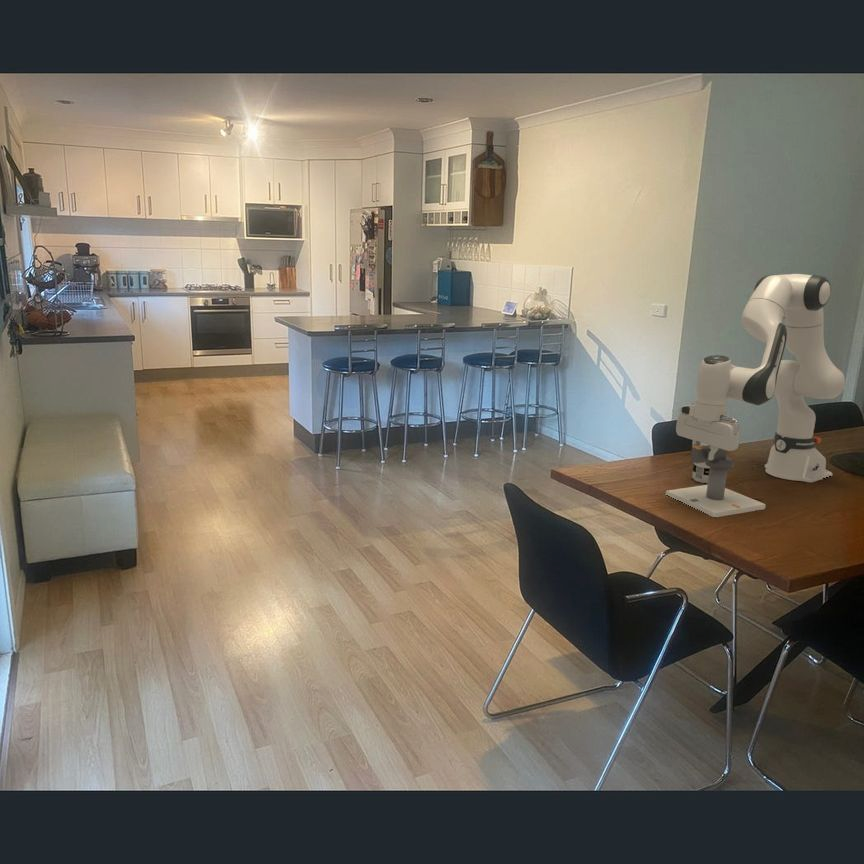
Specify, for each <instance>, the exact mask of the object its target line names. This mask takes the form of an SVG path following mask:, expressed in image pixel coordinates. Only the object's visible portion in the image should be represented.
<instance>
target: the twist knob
mask: <svg viewBox="0 0 864 864" xmlns="http://www.w3.org/2000/svg"><path fill="white" fill-rule="evenodd" d="M710 451H711V449H710V445H708V446H697V445H693V444H692V445H691V453H690V460H689V461H690V462H692V463H693V464H694V463H702V462H705V464H706V465H707V466H709V467H713V468H718V469H728V470H732V469H733V468H734V466H735V465H734V464H735V459H734V458H732V457H729V456H727V452H728V451H726V450H723V449H720V448H719V449H718V450H717V452H716V453H715V454H714V459H713V460H708V459H706V453H709V452H710Z"/></svg>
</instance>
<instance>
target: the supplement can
mask: <svg viewBox="0 0 864 864" xmlns="http://www.w3.org/2000/svg"><path fill="white" fill-rule="evenodd" d="M700 446H708V445H707V444H704V443H701V444H700ZM692 467H693V468H692V474H691V478H692V479H693V480H694V481H695V482H697V483H699V482H700V483H699V484H704V483H706V484H705V485H708V477H709V470H710V467H709V466H707V465H706V464H705V462H702V463H694V462H693V466H692Z"/></svg>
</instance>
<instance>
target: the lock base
mask: <svg viewBox="0 0 864 864" xmlns="http://www.w3.org/2000/svg"><path fill="white" fill-rule="evenodd" d="M728 470H729V469H718V468H713V467H710V470H709V477H708V484H702V485H697V486H690V487H683V488H682V487H681V488H676V489H669V490H666V491H665V496H666V495H668V496H670V497H669V498H671V497H672V498H671V499H673V498H674V499H673V500H675V499H676V501H677V500H679V501H681V502H683V503H682V504H684V503H685V504H684V505H686V504H687V505H686V506H688V505H689V507H690V506H691V507H690V508H692V507H693V508H692V509H694V508H695V509H694V510H697V509H698V510H697V511H699V510H700V511H699V512H701V511H702V512H701V513H703V512H704V513H703V514H705V513H706V515H707V514H708V515H707V516H710V517H712V518H714V517H716V518H720V517H727V516H733V515H738V514H744V513H750V512H756V510H757V511H763V510H766V506H767V505H766V504H765V503H763V502H761V501H759V500H755V499H753V498H751V497H748V496H746V495H743V494H742V493H739V492H737V491H734V490H732V489H730V488H729V489H728V488H726V485H727V484H726V483H727V477H728ZM668 496H667V497H668ZM679 501H678V502H679ZM681 502H680V503H681Z"/></svg>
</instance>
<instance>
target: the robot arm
mask: <svg viewBox="0 0 864 864" xmlns="http://www.w3.org/2000/svg"><path fill="white" fill-rule="evenodd" d="M831 293H832V287H831V282H830V281H829V279H828V278H827V277H826V276H822V275H818V274H803V273H791V274H789V273H787V274H777V275H776V274H767V275H764V276H763V277H761V278H759V280H757V281H756V283H755V286H754V289H753V292H752V294H751V296H750V298H749V300H748V301H747V303H746V305H745V307H744V309H743V311H742V314H741V324H742V326H743V328H744V329H745V331H747V333H748V334H749V335H751V337H753V338H754V339H755V338H756V339H757V340H759V341H761V342H762V343H764V344H766V346H765V349H764V353H763V357H762V360H761V363H760V366H759V367H757V368H756V367H755V368H749V367H743V366H738V365H734V364H732V363H731V362H732V361H731V359H730V357H729V356H727V355H720V354H718V355H709V356H706V357H704V358H702V361H701V363H700V366H699V369H698V373H697V380H696V396H695V398H694V403H691V404H686V405H681V406H679V409H678V411H679V413H680V414H678V416H677V420H676V427H675V431H676V434H677V436H679V437H682V438H686V439H688V440H691V441H692V445H697V446H700V444H701V443H704V444H707V445H710V449H711V451H710V452H709V453H706V459H708V460H713V459H714V454H715V453H716V452H717V450H718V449H719V448H720V449H723V450H726V451H727V452H731V451H736V450H737V449H738V448H739V445H740V423H739V421H737V419H736V418H734V417H729V416H727V407H728V399H730V400H733V401H734V400H735V401H739V402H744V403H748V404H751V405H755V406H761V405H763V404H766V403H767V402H769V401H770V400H771V399H772V398H773V396H775V399H776V402H777V406H778V420H777V426H776V427H777V428H776V432H775V433H774V435H773V443H774V444H773V445H772V446H771V447H770V448H771V449H770V452H769V455H768V459H767V462H766V463H765V464H764V469H765V470H764V471H765V473H766V474H768V475H769V476H772V477H775V478H779V479H782V480H788V481H799V482H803V483H804V482H805V483H816V482H817V481H821V480H824V479H823V478H825V479H827V478H826V477H828V478H830V477H829V476H831V477H833V473H832V471H829V470H828V469H826V468H827V467H826V466H827V459H826V457H825V455H824V456H823V454H822V453H821V452H820V451H819V450H818V449H817V448H816V444H820V443H821V441H822V439H821V437H818V436H814V430H815V424H816V420H817V419H816V418H817V417H816V413H815V411H814V410H813V409H812V408H811V407H810V406H809V405H807V403H806V400H805V397H806V398H807V397H808V398H812V399H816V400H832V399H836V398H837V397H839V395H841V394H842V392H843V391H844V388H845V385H846V378H845V375H844V373H843V371H841V370H840V369H839V368H837V367H836V365H835V364H834V363H833V361H831V359H830V356H829V354H828V352H827V350H826V347H825V339H824V338H825V337H824V333H825V332H824V329H825V328H824V322H825V321H824V320H825V319H824V315H825V314H824V306H826V305H827V304H828V302H829V300H830V297H831ZM784 318H785V319H784ZM783 319H784V323H783ZM785 348H786V350H787V351H788V352H789V353H791V354H792V355H793V356H794V357H795V358H796V359H797V361H796V360H790V359H783V360H782V358H783V355H784V351H785Z"/></svg>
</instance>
